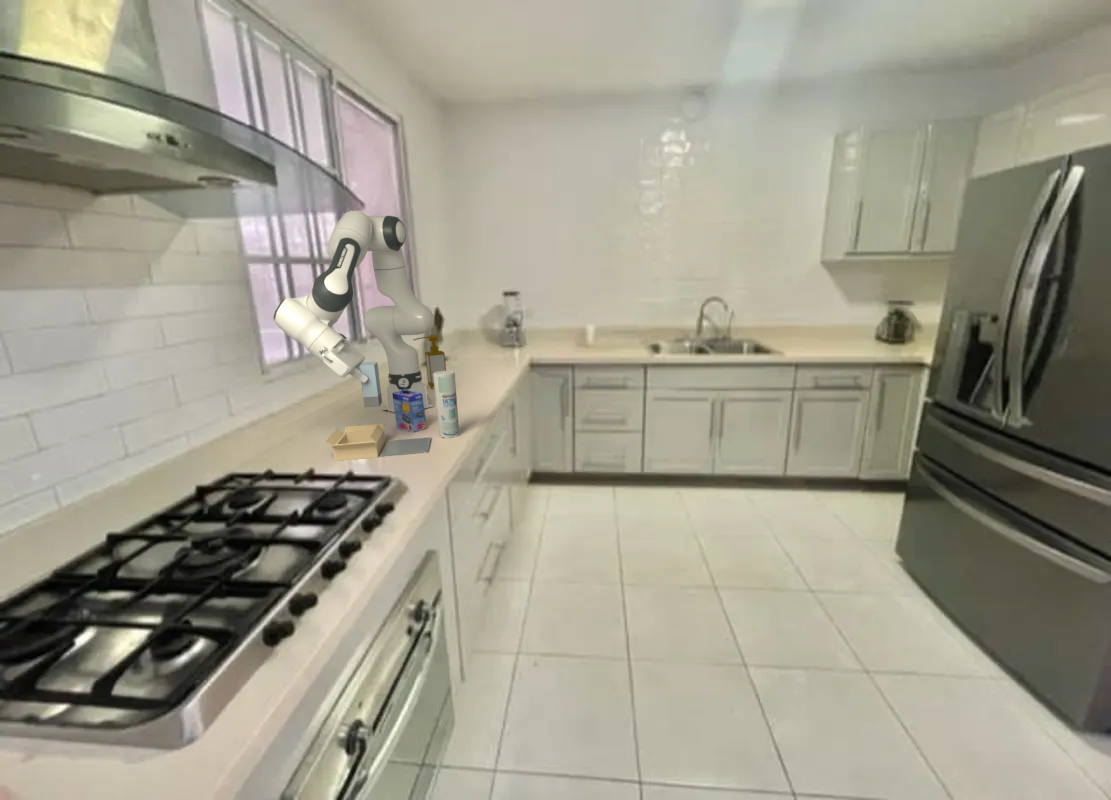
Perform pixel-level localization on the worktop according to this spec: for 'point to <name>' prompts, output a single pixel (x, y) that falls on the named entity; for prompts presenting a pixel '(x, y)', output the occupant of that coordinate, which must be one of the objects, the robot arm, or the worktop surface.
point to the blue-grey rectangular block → (371, 385)
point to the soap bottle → (434, 359)
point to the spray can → (446, 403)
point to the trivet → (406, 446)
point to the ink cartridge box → (409, 410)
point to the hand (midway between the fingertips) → (369, 378)
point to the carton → (357, 442)
